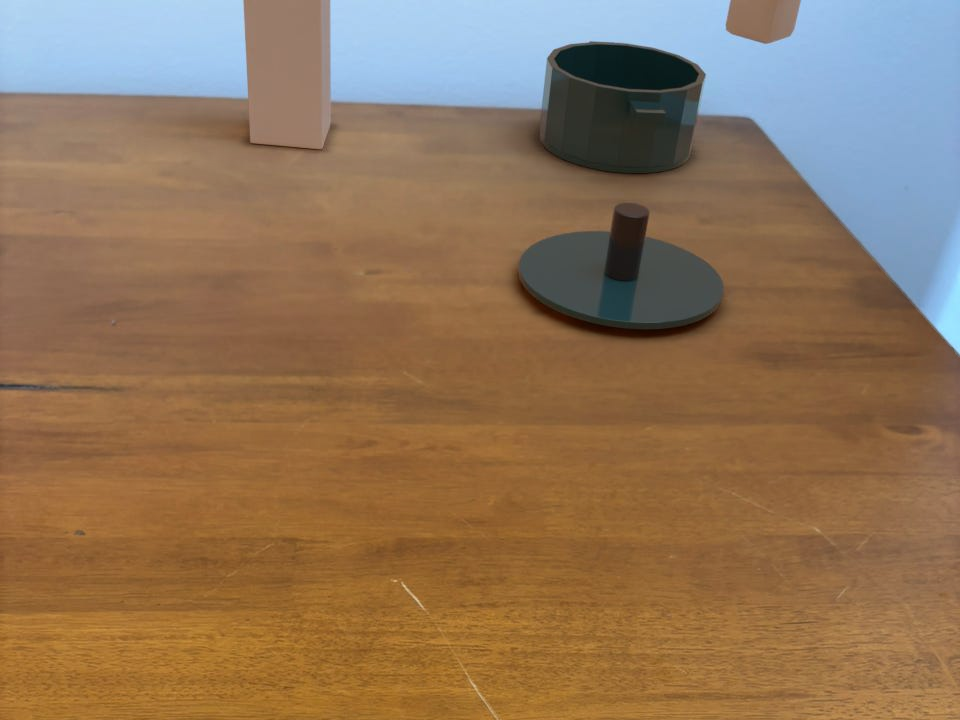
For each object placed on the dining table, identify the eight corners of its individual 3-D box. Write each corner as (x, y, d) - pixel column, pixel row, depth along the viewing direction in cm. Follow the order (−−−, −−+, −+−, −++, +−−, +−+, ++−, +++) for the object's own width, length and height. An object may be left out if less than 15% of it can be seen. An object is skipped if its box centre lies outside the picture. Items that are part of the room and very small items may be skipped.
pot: (661, 111, 111) (674, 36, 107) (716, 188, 98) (733, 106, 94) (523, 105, 109) (531, 29, 105) (560, 184, 96) (571, 100, 92)
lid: (689, 247, 89) (705, 171, 85) (746, 338, 78) (766, 257, 74) (503, 243, 86) (510, 166, 83) (536, 337, 76) (546, 253, 72)
